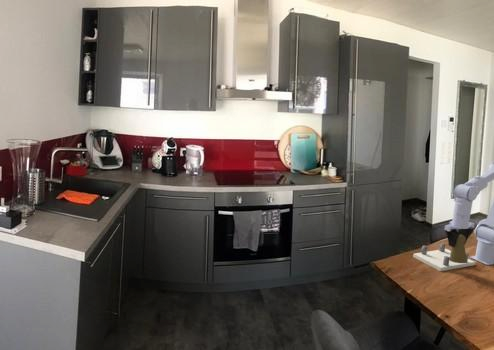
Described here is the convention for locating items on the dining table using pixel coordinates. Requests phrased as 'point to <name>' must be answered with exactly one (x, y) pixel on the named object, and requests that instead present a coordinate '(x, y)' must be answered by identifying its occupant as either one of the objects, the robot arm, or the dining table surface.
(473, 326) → the dining table surface
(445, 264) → the peg board
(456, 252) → the olive rounded cylinder
